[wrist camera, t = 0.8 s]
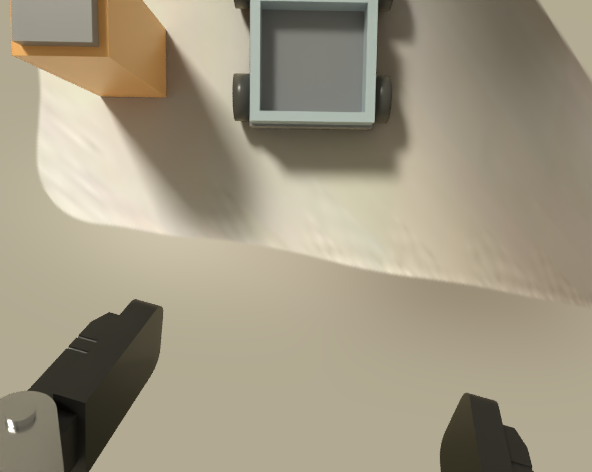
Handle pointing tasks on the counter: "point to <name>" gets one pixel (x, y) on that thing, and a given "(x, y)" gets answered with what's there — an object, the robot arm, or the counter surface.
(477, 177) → the counter surface
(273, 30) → the truck
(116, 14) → the orange tower grey cap
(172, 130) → the counter surface
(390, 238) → the counter surface
